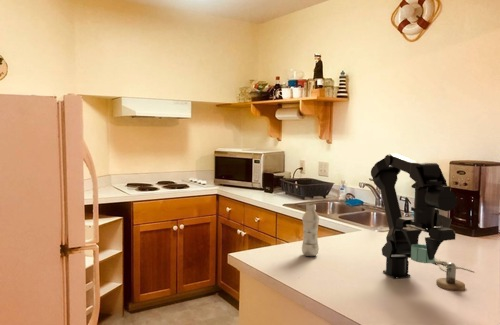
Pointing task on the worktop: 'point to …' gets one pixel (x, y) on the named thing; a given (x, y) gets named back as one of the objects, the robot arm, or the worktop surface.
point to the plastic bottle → (310, 231)
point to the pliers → (446, 265)
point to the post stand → (450, 279)
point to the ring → (420, 253)
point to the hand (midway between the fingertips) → (422, 256)
